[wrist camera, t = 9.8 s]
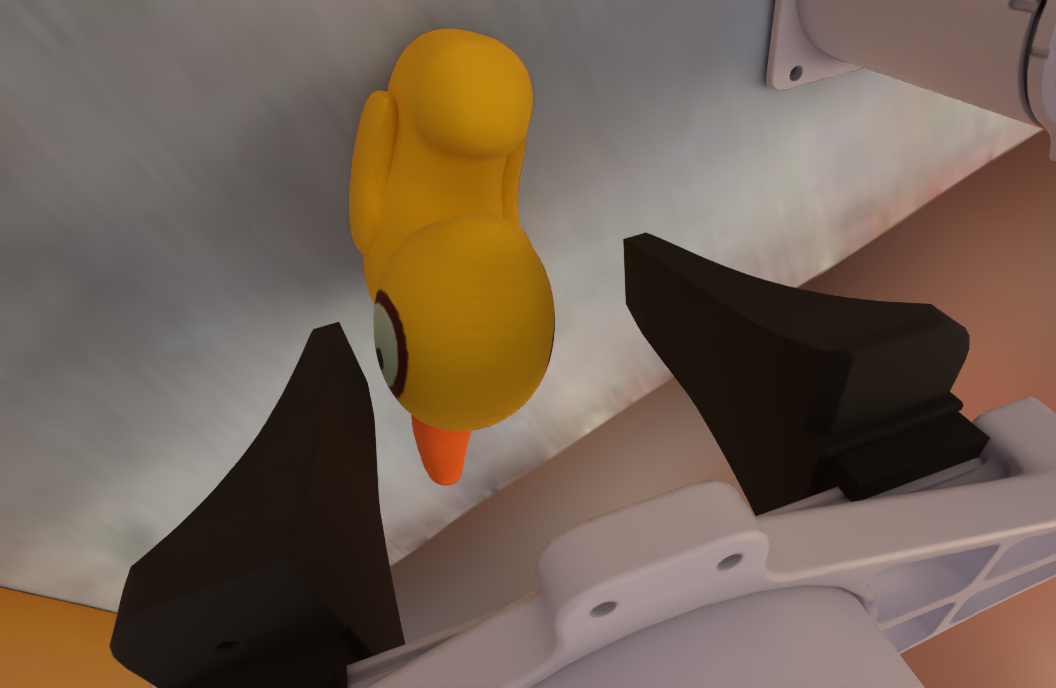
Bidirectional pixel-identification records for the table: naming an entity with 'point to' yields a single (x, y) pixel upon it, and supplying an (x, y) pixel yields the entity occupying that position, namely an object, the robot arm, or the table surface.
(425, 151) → the duckling
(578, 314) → the table surface
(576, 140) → the table surface
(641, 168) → the table surface
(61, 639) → the bread
